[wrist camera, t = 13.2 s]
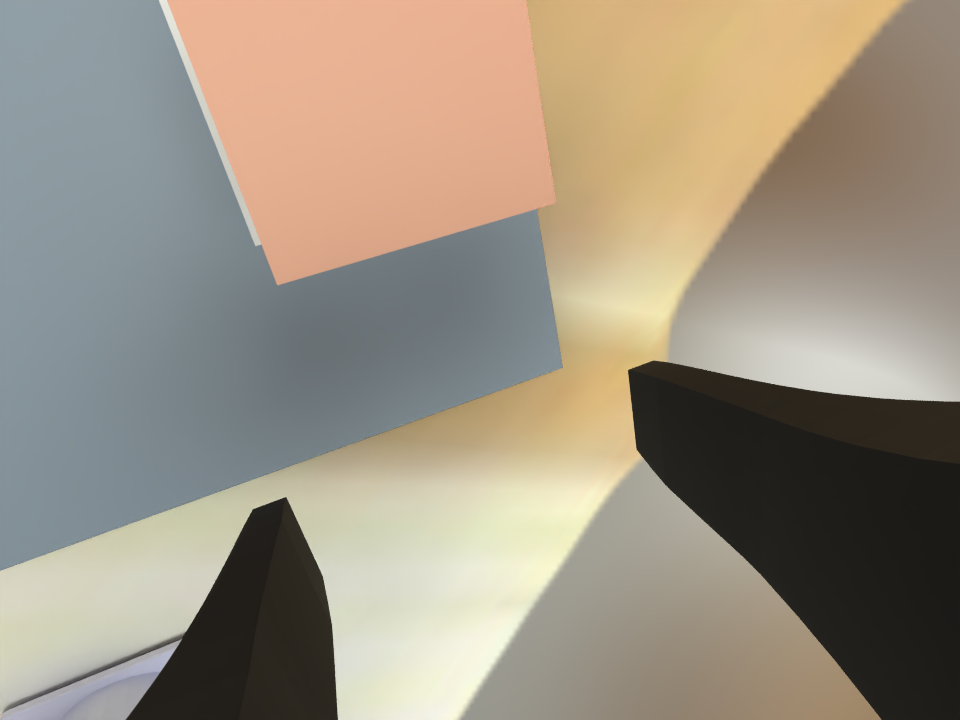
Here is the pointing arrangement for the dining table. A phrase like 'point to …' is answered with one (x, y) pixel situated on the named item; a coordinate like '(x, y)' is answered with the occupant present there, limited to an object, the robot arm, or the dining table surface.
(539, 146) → the terracotta block
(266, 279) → the build board
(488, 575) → the dining table surface
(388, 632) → the dining table surface
